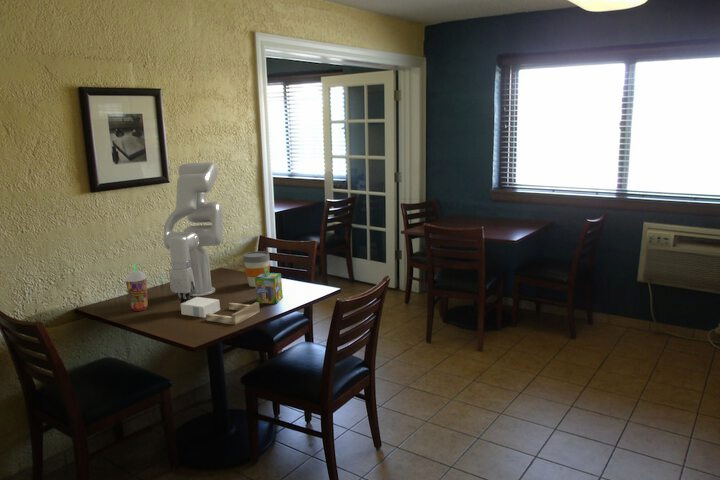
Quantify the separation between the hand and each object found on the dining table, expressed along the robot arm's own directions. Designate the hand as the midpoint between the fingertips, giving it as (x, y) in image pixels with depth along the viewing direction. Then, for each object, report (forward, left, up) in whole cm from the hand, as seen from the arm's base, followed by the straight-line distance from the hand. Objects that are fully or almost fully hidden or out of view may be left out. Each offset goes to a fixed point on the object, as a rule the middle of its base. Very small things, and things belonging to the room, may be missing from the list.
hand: (185, 307), depth 243 cm
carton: (+8, 0, -2) cm, 8 cm away
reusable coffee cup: (+8, +42, -1) cm, 43 cm away
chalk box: (+28, +22, -2) cm, 36 cm away
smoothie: (-20, -6, -1) cm, 21 cm away
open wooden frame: (+25, 0, -1) cm, 25 cm away
